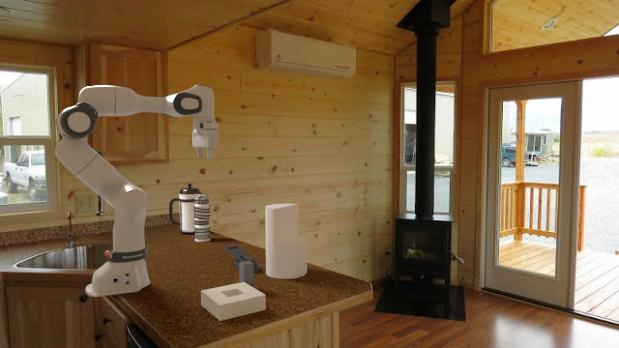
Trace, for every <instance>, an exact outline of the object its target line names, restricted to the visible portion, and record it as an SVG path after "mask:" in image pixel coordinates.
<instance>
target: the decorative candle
mask: <svg viewBox="0 0 619 348" xmlns="http://www.w3.org/2000/svg"><path fill="white" fill-rule="evenodd" d="M194 199H195V206H194V211H195V212H194V214H195V215H194V217H195V232H196V233H194V241H195V242H198V243H199V242H200V243H203V242H204V243H205V242H209V241H211V237H212V236H211V227H210V226H211V224H210V220H211V218H210V217H211V214H210V213H211V208H210V207H211V206H212V205H210V200H209V199H210V197H209V196H208V194H207V195H206V194H202V195H198V196H196V198H194Z"/></svg>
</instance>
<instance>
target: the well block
mask: <svg viewBox="0 0 619 348" xmlns="http://www.w3.org/2000/svg"><path fill="white" fill-rule="evenodd" d="M266 295H267V294H265V293H263V292H262V291H260V290H258V289H257V288H255V287H254V288H253V287H252V286H250V285H248V284H247V283H245V282H241V283H239V282H238V283H237V282H235V283H232V284H228V285H222V286H217V287H212V288H207V289H202V290H200V302H201V303H200V304H201V306H202V307H203V308H204V309H205V310H206V311H208V312H209V313H210V314H211V315H212V316H213V317H215V318H216V319H217V320H218V321H220V322H222V321H225V320H229V319H233V318H238V317H242V316H245V315H246V316H247V315H251V314H253V313H257V312H258V313H259V312H262V311H266V310H267V306H266V304H267V301H266V300H267V299H266Z"/></svg>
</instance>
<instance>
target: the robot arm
mask: <svg viewBox="0 0 619 348" xmlns="http://www.w3.org/2000/svg"><path fill="white" fill-rule="evenodd" d="M214 95H215V94H214V91H213V89H212V88H211V87H210V86H208V85H206V84H204V85H203V84H194V86H192V87H190V88H188V89H186V90H183V91H180V92H179V91H178V92H177V93H171V94H168V95H165V96H162V97H161V96H159V97H158V96H157V97H156V96H147V95H146V96H145V95H140V94H138V93H137V92H135V91H134V90H133V89H132V88H129V87H124V86H117V85H93V86H92V85H91V86H86V87H84V88H82V89H81V90H80V92H79V94H78V99H77V100H78V102H77V104H75V105H73V106H68V107H66V108H64V109H62V110H61V111H60V113H59V114H57V117H56V120H55V125H56V129H57V132H58V134H59V138H60V141H59V142H58V143H57V144H56V146H55V147H54V155H55V157H56V158H57V160H58V161H59V162H60V163H61V164H62V165H63V166H64V168H65V169H67V171H69V172H70V173H71V174H72V175H73V176H74V177H76V178H77V179H78V180H79V181H81V182H82V183H83V184H85V186H87V187H88V188H90V189H91V191H93V192H94V193H95V194H96V195H97V196H99V197H100V198H101V199H103V201H105V202H106V203H107V204H108V205H110V206H111V207H112V208H114V218H113V219H114V222H113V228H112V240H113V241H112V246H113V249H112V250H105V252H104V255H105V256H106V257H107V260H108V261H106V262H105V263H104V264H103V265H102V266H100V267H99V268H98V269H96V270H95V271H94V273H93V275H92V280H91V283H90V284H88V285H86V287H85V290H84V291H85V294H86V295H87V296H89V297H94V298H97V297H98V298H99V297H105V296H106V297H107V296H116V295H121V294H131V293H137V292H140V291H141V290H142V289H143V288H146V287H148V286H149V285H150V284H151V281H150V278H149V273H148V269H147V248H146V247H145V223H146V215H147V206H148V205H149V204H148V203H149V201H148V199H149V198H148V196H147V193H146V192H145V191H144V189H142V188H141V187H139V186H137V185H134V184H132V183H131V182H130V181H129V180H128V179H127V178H126V177H125V176H123V175H122V173H120V172H119V171H118V169H117V168H116V167H114V165H113V164H111V163H110V162H109V161H107V160H106V158H104V157H103V156H102V155H101V154H100V153H98V151H96V150H95V149H94V148H92V146H90V144H89V143H88V141H87V137H88V136H90V135H91V133H93V131H94V129H95V127H96V124H97V121H98V118H99V117H125V116H126V117H127V116H132V115H133V116H134V115H135V114H138V113H154V114H163V115H166V116H167V117H169V118H172V119H178V118H179V119H180V118H183V117H189V116H192V129H193V130H192V134H191V136H192V137H191V144H192V148H196V153H197V158H198V159H203V158H204V154H203V148H204V149H205V148H206V154H205V156H206V158H205V159H206V160H212V158H213V153H214V149H215V148H216V149H217V148H218V144H219V129H220V124H219V122H217V121H216V117H215V113H214V112H215V109H216V108H215V105H216V104H215V103H216V102H215V96H214Z"/></svg>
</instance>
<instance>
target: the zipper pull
mask: <svg viewBox="0 0 619 348" xmlns="http://www.w3.org/2000/svg"><path fill="white" fill-rule="evenodd" d="M223 250H225V251H226V252H227V253H228V254H230V255H231V256H233V257H234V258H235V259H236V260H234V261H233V266H234V268H235V269H237V270H238V271H239V262H244V261H251V262H253V263H254V274H255V273H258V272H260V271H261V268H262V267H261V264H260V263H258V262H256V259H255V258H253V257H251V256H250V255H249V254H248V253H247V252H246V251H245V250H244V248H243V247H241V246H240V245H239V244H234V245H233V244H232V245H227V246H224V247H223Z"/></svg>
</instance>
